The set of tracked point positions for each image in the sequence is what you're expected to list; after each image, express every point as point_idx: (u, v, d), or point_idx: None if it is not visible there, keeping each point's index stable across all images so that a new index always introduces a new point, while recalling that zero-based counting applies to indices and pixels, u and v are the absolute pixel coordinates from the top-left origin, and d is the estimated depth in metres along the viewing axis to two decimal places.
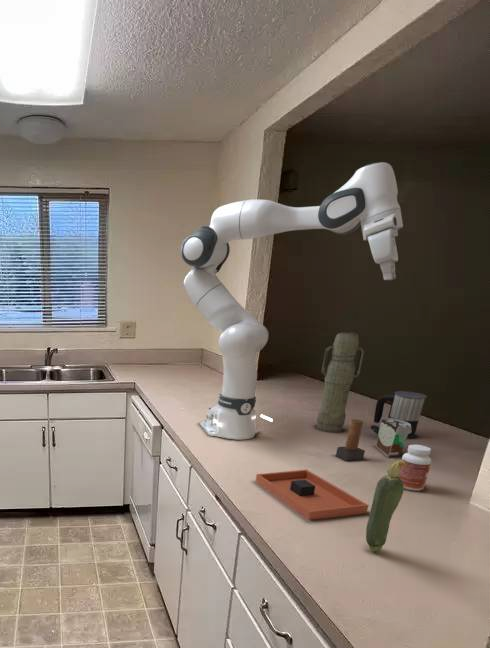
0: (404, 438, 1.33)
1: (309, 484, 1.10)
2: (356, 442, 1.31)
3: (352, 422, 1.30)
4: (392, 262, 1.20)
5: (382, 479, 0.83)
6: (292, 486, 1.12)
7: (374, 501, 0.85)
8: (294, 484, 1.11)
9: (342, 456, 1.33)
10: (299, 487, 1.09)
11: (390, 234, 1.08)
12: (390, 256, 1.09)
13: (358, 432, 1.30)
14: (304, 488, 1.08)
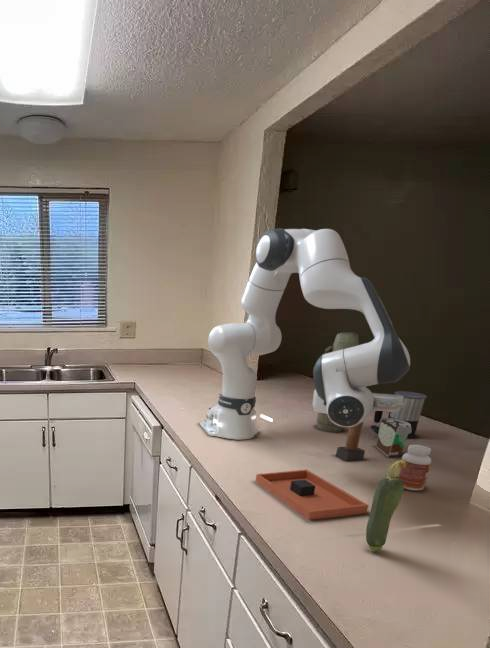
0: (404, 438, 1.33)
1: (309, 484, 1.10)
2: (356, 442, 1.31)
3: None
4: None
5: (382, 479, 0.83)
6: (292, 486, 1.12)
7: (374, 501, 0.85)
8: (294, 484, 1.11)
9: (342, 456, 1.33)
10: (299, 487, 1.09)
11: (313, 406, 1.17)
12: None
13: (358, 432, 1.30)
14: (304, 488, 1.08)
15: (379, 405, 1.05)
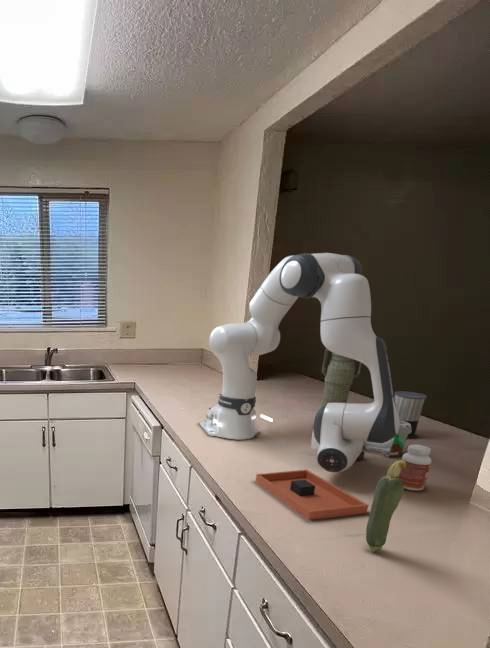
0: (404, 438, 1.33)
1: (309, 484, 1.10)
2: None
3: None
4: None
5: (382, 479, 0.83)
6: (292, 486, 1.12)
7: (374, 501, 0.85)
8: (294, 484, 1.11)
9: None
10: (299, 487, 1.09)
11: None
12: None
13: None
14: (304, 488, 1.08)
15: (367, 449, 1.19)
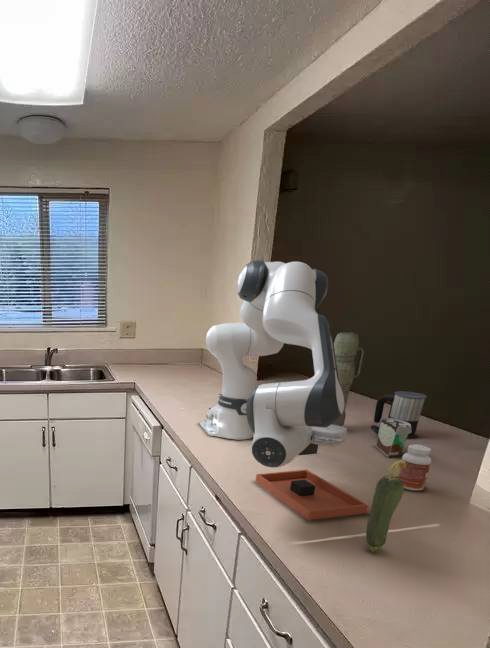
0: (404, 438, 1.33)
1: (309, 484, 1.10)
2: None
3: None
4: None
5: (382, 479, 0.83)
6: (292, 486, 1.12)
7: (374, 501, 0.85)
8: (294, 484, 1.11)
9: None
10: (299, 487, 1.09)
11: None
12: None
13: None
14: (304, 488, 1.08)
15: (316, 440, 0.99)
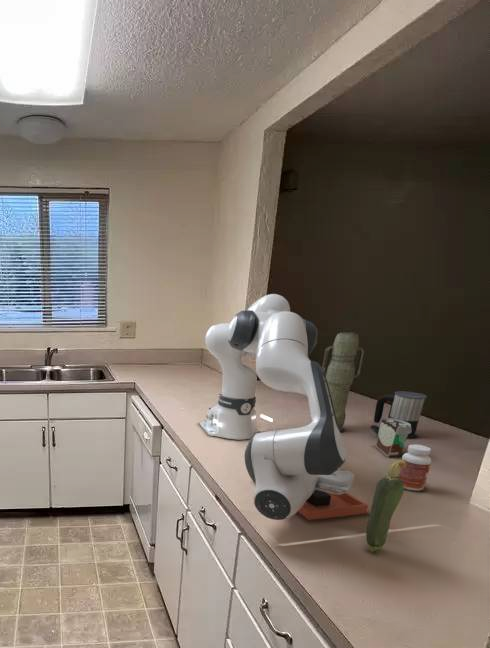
0: (404, 438, 1.33)
1: (325, 494, 1.05)
2: None
3: None
4: None
5: (382, 479, 0.83)
6: None
7: (374, 501, 0.85)
8: None
9: None
10: (314, 497, 1.04)
11: None
12: None
13: None
14: (319, 498, 1.03)
15: (322, 488, 0.95)
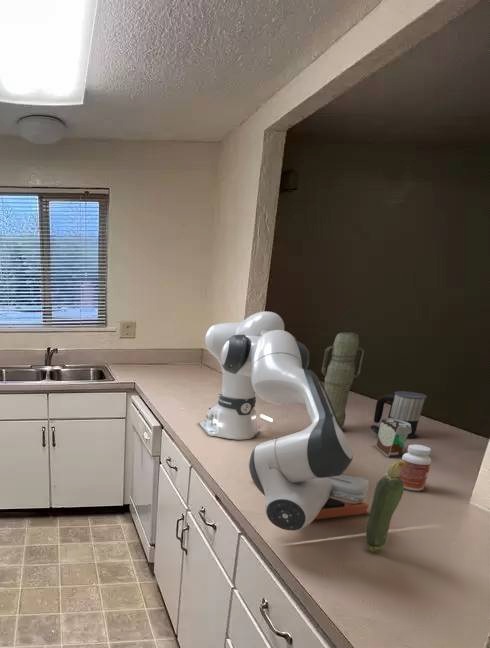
0: (404, 438, 1.33)
1: (337, 502, 1.01)
2: None
3: None
4: None
5: (382, 479, 0.83)
6: None
7: (374, 501, 0.85)
8: None
9: None
10: (327, 505, 1.00)
11: None
12: None
13: None
14: (332, 506, 0.99)
15: (336, 496, 0.91)
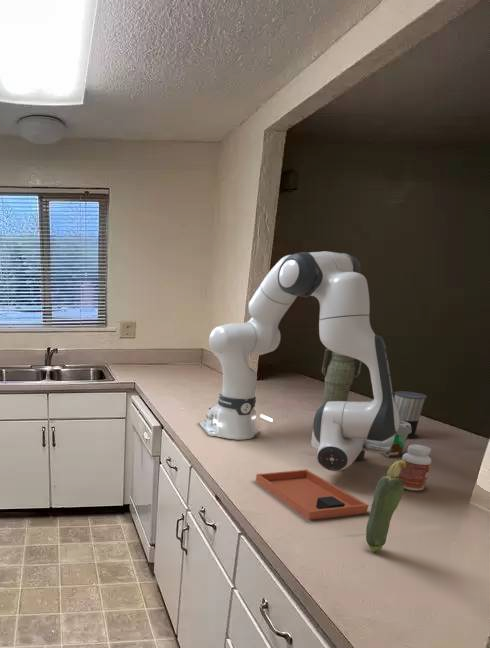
0: (404, 438, 1.33)
1: (338, 502, 1.01)
2: None
3: None
4: None
5: (382, 479, 0.83)
6: (319, 503, 1.03)
7: (374, 501, 0.85)
8: (321, 501, 1.02)
9: None
10: (327, 505, 1.00)
11: None
12: None
13: None
14: (332, 506, 0.99)
15: (368, 448, 1.19)
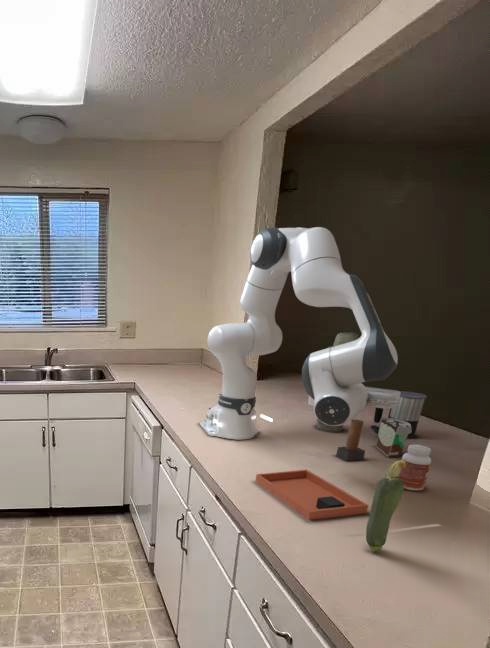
0: (404, 438, 1.33)
1: (338, 502, 1.01)
2: (356, 442, 1.31)
3: (352, 422, 1.30)
4: None
5: (382, 479, 0.83)
6: (319, 503, 1.03)
7: (374, 501, 0.85)
8: (321, 501, 1.02)
9: (342, 456, 1.33)
10: (327, 505, 1.00)
11: None
12: None
13: (358, 432, 1.30)
14: (332, 506, 0.99)
15: (372, 402, 1.05)
